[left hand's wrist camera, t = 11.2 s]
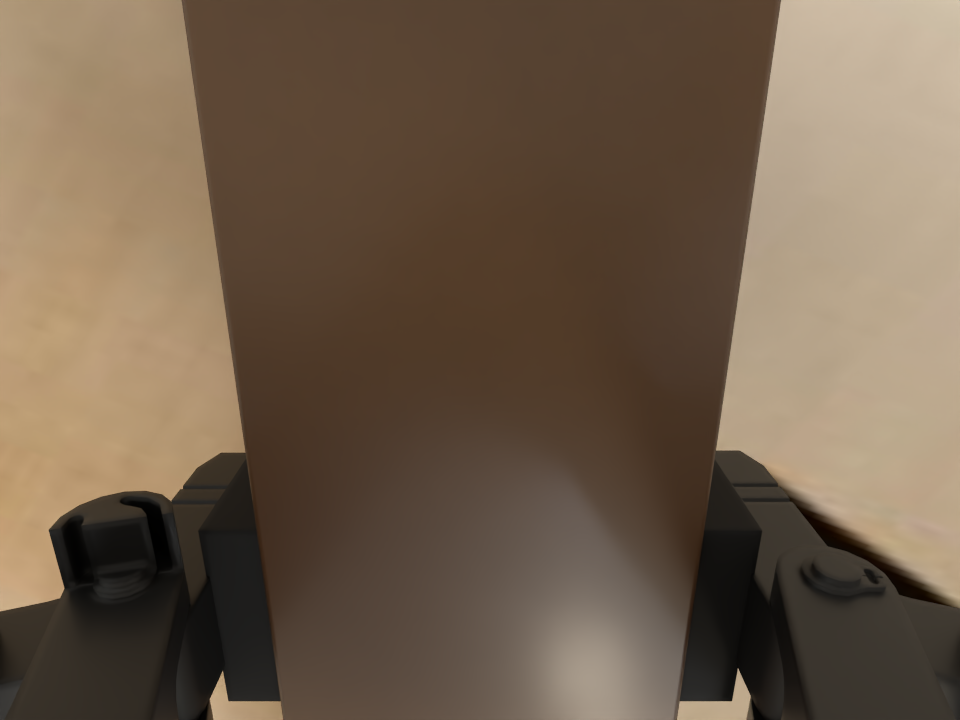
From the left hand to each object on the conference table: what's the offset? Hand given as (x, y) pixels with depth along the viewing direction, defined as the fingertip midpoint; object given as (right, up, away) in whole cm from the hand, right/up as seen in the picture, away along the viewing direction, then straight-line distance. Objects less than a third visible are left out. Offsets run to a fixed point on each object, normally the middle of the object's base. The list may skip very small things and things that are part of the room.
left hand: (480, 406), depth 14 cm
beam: (0, -30, +12) cm, 32 cm away
